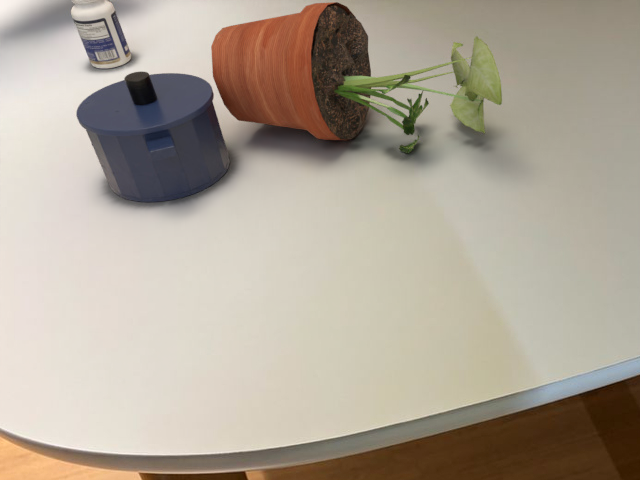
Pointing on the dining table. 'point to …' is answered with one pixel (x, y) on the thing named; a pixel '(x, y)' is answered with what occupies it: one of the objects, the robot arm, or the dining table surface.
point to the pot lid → (145, 104)
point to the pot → (164, 160)
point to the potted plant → (331, 75)
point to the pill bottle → (100, 33)
